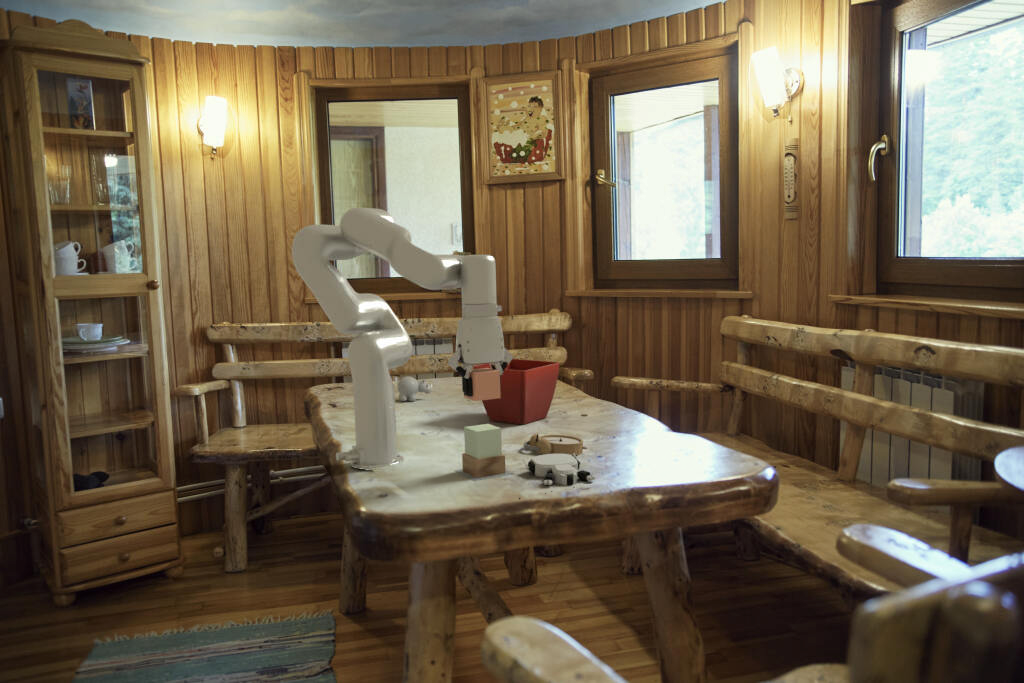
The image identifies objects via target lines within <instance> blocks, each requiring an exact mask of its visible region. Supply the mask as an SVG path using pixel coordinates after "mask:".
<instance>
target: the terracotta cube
mask: <svg viewBox="0 0 1024 683" xmlns="http://www.w3.org/2000/svg"><path fill="white" fill-rule="evenodd" d="M470 378H472V385H473V396H471V397H469V396H466V395H464V394H463V398H465V399H469V400H471V401H475V402H479V401H480V402H482V400H489V399H498V398H501V395H500V371H498V370H494V369H490V368H481V369H472V372H471V375H470Z"/></svg>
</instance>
